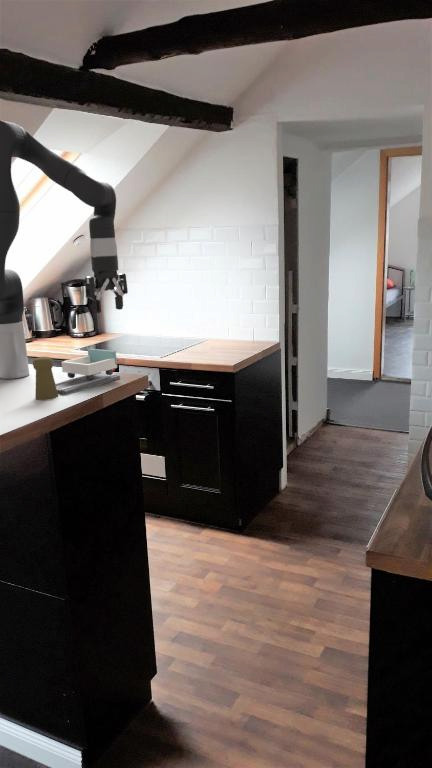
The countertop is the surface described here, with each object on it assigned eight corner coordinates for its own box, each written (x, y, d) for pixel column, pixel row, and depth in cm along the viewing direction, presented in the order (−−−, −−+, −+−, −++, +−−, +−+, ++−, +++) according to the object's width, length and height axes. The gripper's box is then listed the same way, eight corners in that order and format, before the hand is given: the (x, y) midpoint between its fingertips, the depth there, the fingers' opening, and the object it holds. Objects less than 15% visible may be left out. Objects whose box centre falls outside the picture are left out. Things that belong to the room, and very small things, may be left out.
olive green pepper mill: (52, 400, 160) (47, 359, 157) (31, 400, 161) (26, 359, 158) (62, 394, 165) (57, 355, 163) (41, 394, 167) (37, 355, 164)
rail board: (42, 390, 170) (41, 386, 170) (96, 375, 187) (96, 371, 186) (65, 394, 164) (65, 389, 164) (120, 378, 181) (119, 374, 181)
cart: (63, 378, 177) (60, 355, 175) (91, 370, 186) (89, 348, 184) (89, 382, 170) (87, 358, 169) (117, 374, 179) (115, 351, 177)
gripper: (113, 253, 180) (117, 307, 184) (76, 256, 169) (81, 313, 173) (131, 253, 176) (135, 308, 180) (94, 255, 165) (99, 314, 169)
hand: (108, 311), depth 176 cm, fingers open, 8 cm apart
